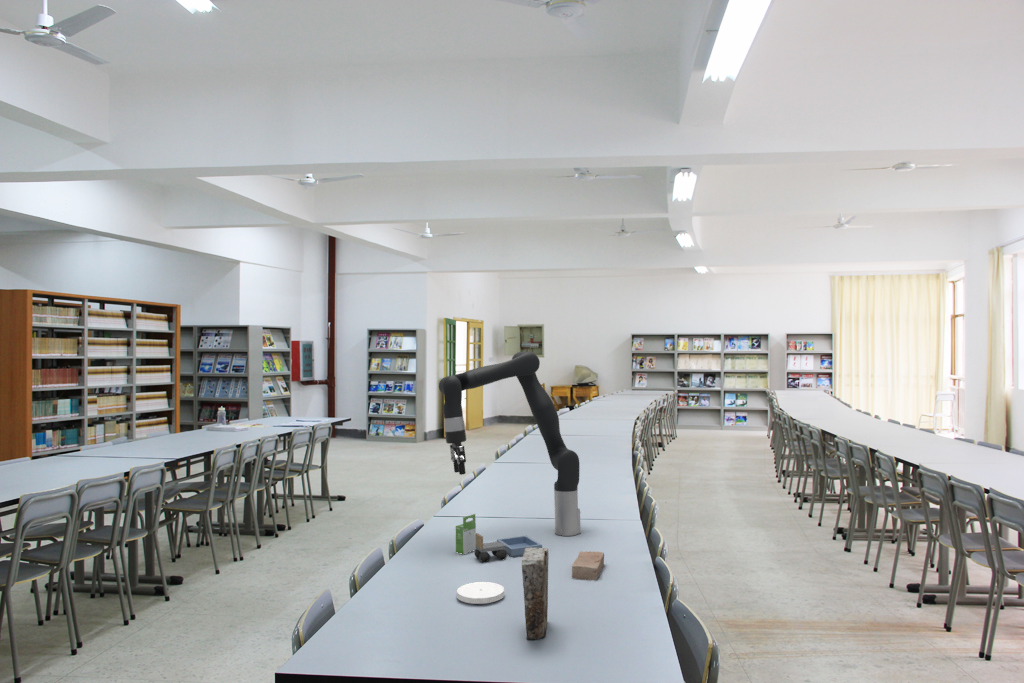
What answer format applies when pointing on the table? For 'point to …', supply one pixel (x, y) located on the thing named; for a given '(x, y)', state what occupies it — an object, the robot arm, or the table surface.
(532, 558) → the stone block
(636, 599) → the table surface
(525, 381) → the robot arm
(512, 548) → the tray
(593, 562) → the brick
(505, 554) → the trolley
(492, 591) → the plastic lid
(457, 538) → the ink box
